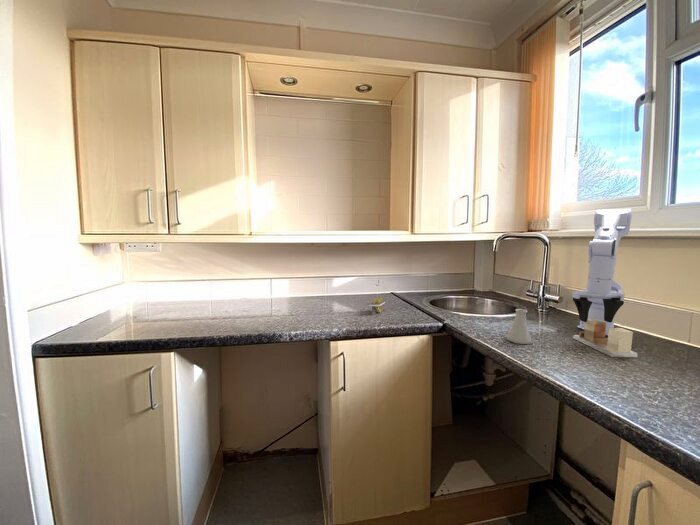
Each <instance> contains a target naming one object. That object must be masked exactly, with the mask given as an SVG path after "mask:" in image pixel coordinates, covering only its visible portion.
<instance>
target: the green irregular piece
mask: <svg viewBox="0 0 700 525" xmlns="http://www.w3.org/2000/svg"><path fill="white" fill-rule="evenodd" d="M384 304H386V301H384V300H383V297H377V298H375V299H373V302H371V303H369V307H371V316H374V315H376V314H377V313H381V314H382V312H383V305H384Z"/></svg>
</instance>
